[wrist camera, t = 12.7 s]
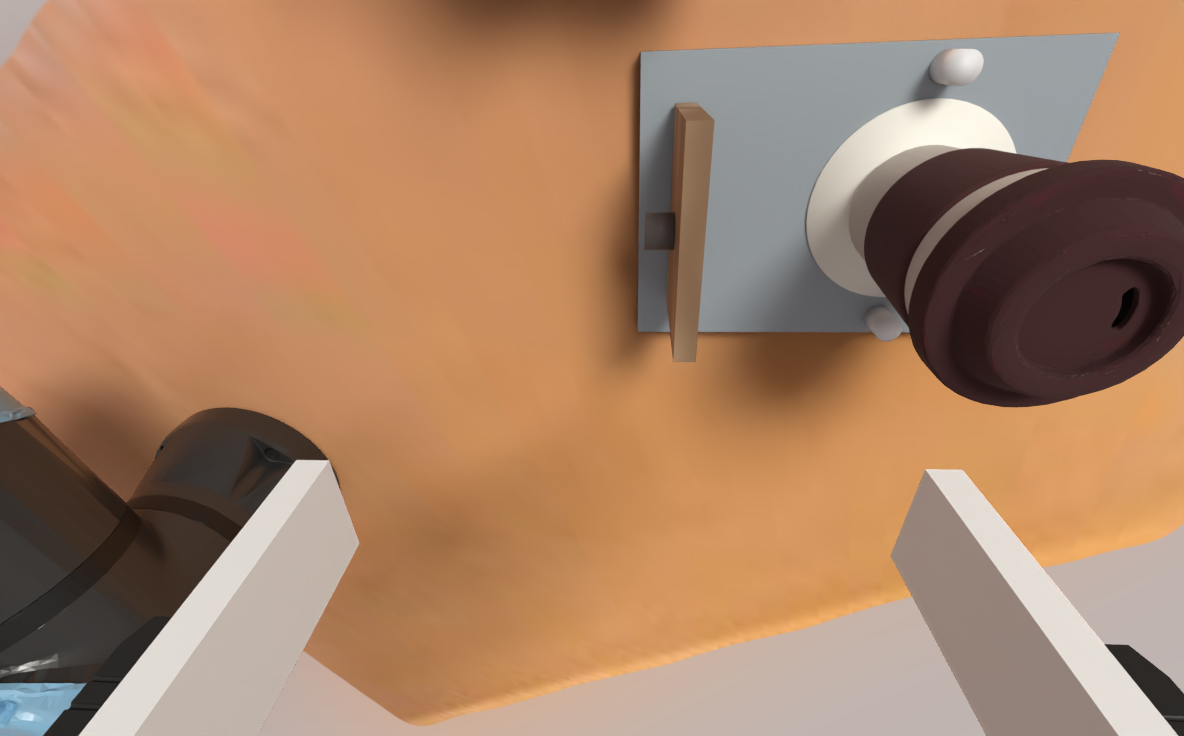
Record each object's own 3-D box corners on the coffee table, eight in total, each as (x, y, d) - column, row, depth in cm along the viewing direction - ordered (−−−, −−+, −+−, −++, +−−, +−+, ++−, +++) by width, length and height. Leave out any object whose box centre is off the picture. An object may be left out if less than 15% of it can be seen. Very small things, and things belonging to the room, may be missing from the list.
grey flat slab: (637, 324, 38) (637, 345, 36) (640, 51, 29) (641, 52, 27) (987, 324, 36) (1016, 347, 34) (1104, 33, 28) (1155, 32, 25)
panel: (642, 301, 36) (643, 361, 29) (645, 103, 29) (648, 121, 23) (684, 301, 35) (695, 361, 29) (696, 102, 29) (714, 120, 22)
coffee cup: (789, 247, 33) (884, 376, 20) (899, 84, 28) (1114, 121, 15) (919, 308, 35) (1081, 464, 22) (1044, 164, 30) (1350, 258, 17)
